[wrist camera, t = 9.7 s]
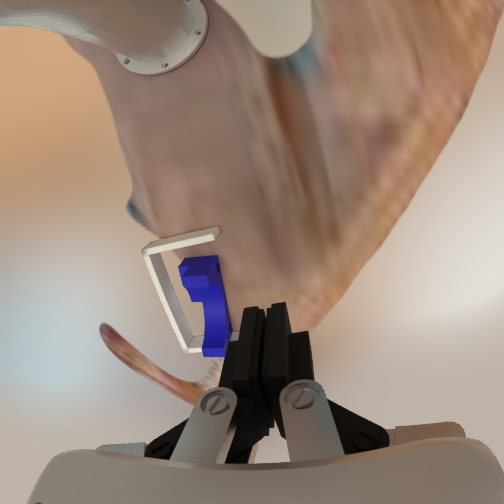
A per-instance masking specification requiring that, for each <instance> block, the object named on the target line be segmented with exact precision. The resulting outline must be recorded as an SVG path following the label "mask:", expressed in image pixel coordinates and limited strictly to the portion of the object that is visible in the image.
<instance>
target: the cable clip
mask: <svg viewBox="0 0 504 504" xmlns="http://www.w3.org/2000/svg"><path fill="white" fill-rule="evenodd" d="M178 268H179V272H180V276H181V280H182V284H183V286H184V287H185V288H186V289H187V291H188V293H189V295H190V298H191V301H192V302H202V303H203V308H204V317H205V332H204V340H203V344H202V348H201V349H202V352H203V356H204V357H225V354H226V350H227V345H228V342H229V341H230V339H231V335H232V326H231V321H230V316H229V311H228V306H227V301H226V296H225V291H224V286H223V281H222V276H221V271H220V266H219V261H218V255H215V256H204V257H192V258H185V259H184V260H183V261H182V263H181V264H180V265H179V267H178Z"/></svg>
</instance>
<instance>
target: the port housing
mask: <svg viewBox="0 0 504 504" xmlns="http://www.w3.org/2000/svg"><path fill="white" fill-rule="evenodd" d="M219 233H220V230H219V227H218V226H216V227H212V228H208V229H203V230H199V231H195V232H190V233H186V234H182V235H178V236H173V237H169V238H165V239H161V240H157V241H153V242H150V243H149V244H148V245H147V246H146V247H144V248H143V249H142V250H141V251H142V253H143V256H144V259H145V262H146V264H147V266H148V269H149V272H150V274H151V277H152V279H153V282H154V284H155V287H156V289H157V292H158V294H159V297H160V299H161V301H162V304H163V306H164V308H165V311H166V313H167V315H168V318H169V320H170V322H171V324H172V327H173V329H174V331H175V333H176V335H177V337H178V339H179V342H180V344H181V346H182V348H183V350H184V352H185V353H192V352H202V349H201V348H202V344H203V340H204V335H202V336H193V335H192V333H191V330H190V328H189V326H188V323H187V321H186V319H185V316H184V314H183V311H182V309H181V307H180V304H179V302H178V299H177V297H176V294H175V292H174V289H173V286H172V284H171V282H170V279H169V276H168V274H167V271H166V268H165V266H164V263H163V260H162V257H161V255H160V252H163V251H168V250H172V249H177V248H181V247H186V246H191V245H195V244H200V243H204V242H209V241H214V240H215V239H216V237H217V236H218V234H219ZM239 332H240V331H236V332H232V335H231V339H230V341H235V340H238V337H239Z"/></svg>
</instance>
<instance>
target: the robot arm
mask: <svg viewBox="0 0 504 504" xmlns="http://www.w3.org/2000/svg"><path fill="white" fill-rule="evenodd" d="M0 26H26V27H32V28H38V29H43V30H47V31H52V32H55V33H59V34H62V35H66V36H69V37H72V38H76V39H79V40H82V41H85V42H88V43H91V44H94V45H97V46H100V47H103V48H105V49H108V50H111V51H114V52H115V56H116V58H117V59H118V61H119V63H120V64H121V65H122V66H123V67H124V68H126V69H128V70H129V71H131V72H134V73H137V74H141V75H159V74H164V73H166V72H169V71H172V70H174V69H176V68H178V67H180V66H181V65H182V64H184V63H185V62H187V61H188V60H189V59H190V58H191V57H192V56H193V55H194V54H195V53H196V52H197V50H198V49H199V48H200V46H201V45H202V43H203V41H204V39H205V36H206V33H207V30H208V16H207V12H206V10H205V7H204V6H203V4H202V3H201V1H200V0H190V1H189V0H0ZM198 33H201V34H200V35H198ZM129 61H130V62H129ZM166 65H168V67H167V68H166ZM274 421H276V424H277V427H278V429H279V432H280V435H281V437H283V438H284V439H286V441H287V446H288V451H289V458H290V462H281V463H261V464H253V463H254V459H255V456H256V452H257V448H258V443H257V442H258V441H260V440H261V439H262V438H263V437H264V436H269V428H274ZM27 504H504V473H503V470H502V468H501V466H500V464H499V462H498V460H497V458H496V456H495V455H494V453H493V452H492V451H491V449H490V448H489V447H488V446H487V445H486V444H484V443H483V442H481V441H479V440H475V439H471V438H466V436H465V432H464V429H463V428H462V427H461V426H460V425H459V424H457V423H455V422H442V423H432V424H423V425H411V426H396V428H395V429H384V428H382V427H381V426H379V425H377V424H375V423H373V422H371V421H369V420H367V419H365V418H363V417H361V416H359V415H357V414H355V413H353V412H351V411H349V410H347V409H346V408H344V407H342V406H340V405H338V404H336V403H334V402H332V401H330V400H329V399H327V398H326V395H325V392H324V389H323V388H322V386H321V385H320V384H319V383H317V382H315V381H314V370H313V361H312V352H311V346H310V339H309V332H308V331H303V332H297V333H292V331H291V326H290V321H289V316H288V311H287V306H286V303H285V302H282V303H275V304H272V306H271V308H267V315H266V316H265V312H264V309H259V307H258V306H255V307H248V308H244V311H243V316H242V321H241V327H240V332H239V337H238V340H235V341H229V342H228V345H227V350H226V354H225V359H224V363H223V368H222V372H221V376H220V381H219V385H218V387H216V388H213V389H210V390H208V391H206V392H204V393H203V394H202V395H201V396H200V397H199V399H198V400H197V402H196V404H195V406H194V409H193V411H192V413H191V415H190V417H189V418H188V419H186V420H185V421H183V422H182V423H180V424H179V425H177V426H175V427H174V428H172V429H171V430H169V431H167V432H166V433H164V434H163V435H161V436H159V437H158V438H156V439H154V440H153V441H152V442H151V443H150V444H146V443H145V442H141V443H128V444H111V445H102V446H100V447H98V448H97V449H96V450H92V449H85V450H84V449H82V450H72V451H66V452H63V453H60V454H58V455H56V456H55V457H53V458H52V459H51V461H50V462H49V463H48V464H47V466H46V467H45V469H44V470H43V472H42V474H41V475H40V477H39V479H38V481H37V483H36V485H35V487H34V489H33V491H32V493H31V496H30V498H29V500H28V503H27Z"/></svg>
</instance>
